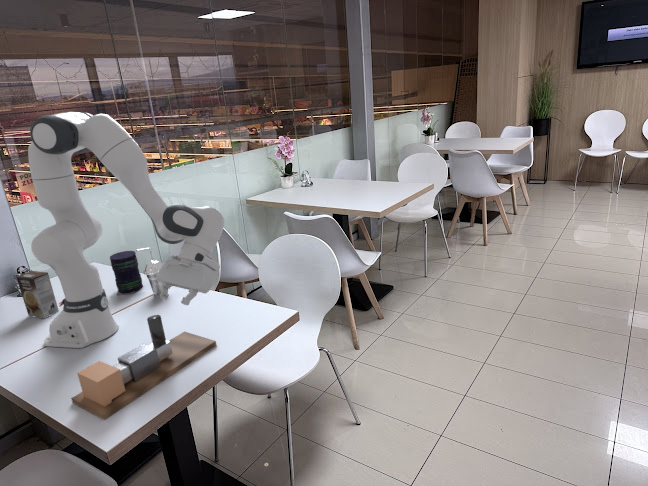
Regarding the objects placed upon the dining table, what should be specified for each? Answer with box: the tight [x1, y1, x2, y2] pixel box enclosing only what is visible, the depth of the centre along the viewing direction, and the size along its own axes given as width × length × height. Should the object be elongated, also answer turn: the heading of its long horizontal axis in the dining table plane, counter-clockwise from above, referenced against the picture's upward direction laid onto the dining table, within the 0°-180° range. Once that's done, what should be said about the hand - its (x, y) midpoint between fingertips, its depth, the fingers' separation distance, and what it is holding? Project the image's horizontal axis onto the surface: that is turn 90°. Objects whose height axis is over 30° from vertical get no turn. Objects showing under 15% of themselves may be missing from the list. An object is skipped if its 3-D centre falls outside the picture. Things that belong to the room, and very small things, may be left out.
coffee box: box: [15, 270, 60, 319], centre depth 170 cm, size 9×6×16 cm
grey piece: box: [112, 314, 173, 384], centre depth 123 cm, size 21×4×12 cm, turn 147°
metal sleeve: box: [117, 343, 161, 383], centre depth 125 cm, size 8×6×6 cm
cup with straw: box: [135, 247, 164, 297], centre depth 178 cm, size 8×9×20 cm
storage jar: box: [109, 250, 144, 295], centre depth 187 cm, size 10×10×15 cm
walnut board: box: [70, 331, 217, 421], centre depth 128 cm, size 37×14×2 cm, turn 147°
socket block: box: [76, 360, 125, 407], centre depth 116 cm, size 6×9×7 cm, turn 57°
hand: (173, 301), depth 132 cm, fingers open, 8 cm apart
